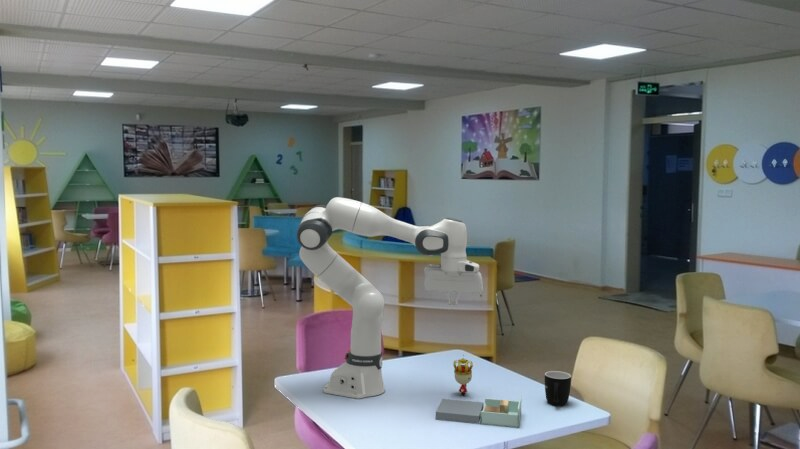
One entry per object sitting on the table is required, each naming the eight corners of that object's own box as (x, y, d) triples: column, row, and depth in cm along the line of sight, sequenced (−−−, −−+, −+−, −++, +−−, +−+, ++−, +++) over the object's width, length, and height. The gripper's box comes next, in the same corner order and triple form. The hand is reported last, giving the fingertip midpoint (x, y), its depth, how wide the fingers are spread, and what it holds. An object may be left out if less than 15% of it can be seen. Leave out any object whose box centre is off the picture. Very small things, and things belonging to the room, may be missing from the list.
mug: (545, 397, 231) (545, 369, 231) (571, 400, 229) (571, 372, 228) (541, 408, 220) (542, 379, 219) (568, 412, 217) (569, 382, 216)
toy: (471, 399, 229) (472, 357, 228) (451, 397, 230) (452, 356, 229) (473, 392, 236) (474, 352, 235) (453, 391, 237) (454, 350, 236)
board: (435, 419, 209) (435, 411, 209) (442, 405, 222) (442, 398, 221) (478, 423, 206) (479, 416, 206) (483, 409, 218) (483, 402, 218)
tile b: (483, 418, 209) (484, 410, 209) (485, 412, 214) (485, 405, 214) (499, 419, 208) (499, 412, 208) (500, 414, 213) (500, 407, 213)
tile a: (499, 404, 208) (507, 405, 207) (501, 399, 213) (508, 400, 212) (499, 420, 208) (507, 420, 207) (500, 414, 213) (508, 415, 212)
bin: (480, 423, 206) (480, 405, 205) (484, 409, 218) (485, 392, 218) (518, 427, 203) (519, 409, 202) (521, 413, 215) (521, 395, 215)
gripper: (422, 264, 223) (421, 304, 224) (481, 267, 218) (480, 307, 219) (426, 262, 229) (425, 301, 230) (483, 265, 224) (483, 304, 225)
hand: (453, 304), depth 225 cm, fingers closed
